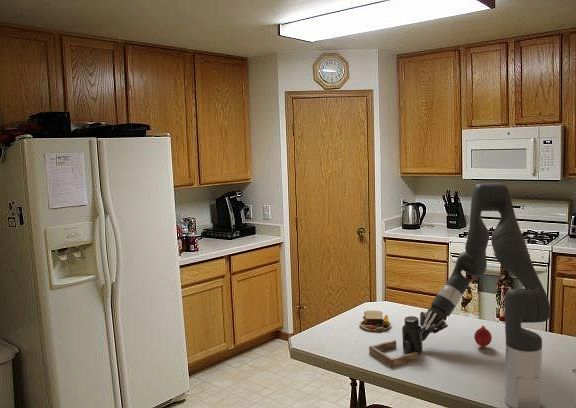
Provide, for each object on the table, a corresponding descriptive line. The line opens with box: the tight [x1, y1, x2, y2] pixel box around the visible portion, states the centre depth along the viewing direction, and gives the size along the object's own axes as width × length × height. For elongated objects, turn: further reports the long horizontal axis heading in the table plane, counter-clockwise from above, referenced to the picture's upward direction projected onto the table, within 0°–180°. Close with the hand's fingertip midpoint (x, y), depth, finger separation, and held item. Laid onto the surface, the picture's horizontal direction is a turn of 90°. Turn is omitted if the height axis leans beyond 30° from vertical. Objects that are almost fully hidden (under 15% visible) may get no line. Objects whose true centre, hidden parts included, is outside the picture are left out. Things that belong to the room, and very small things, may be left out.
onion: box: [473, 324, 493, 348], centre depth 187 cm, size 6×6×8 cm
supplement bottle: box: [401, 315, 424, 355], centre depth 185 cm, size 7×7×12 cm
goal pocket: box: [368, 339, 419, 368], centre depth 183 cm, size 11×13×2 cm
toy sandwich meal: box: [359, 309, 392, 333], centre depth 212 cm, size 12×14×5 cm
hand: (420, 339), depth 187 cm, fingers closed
